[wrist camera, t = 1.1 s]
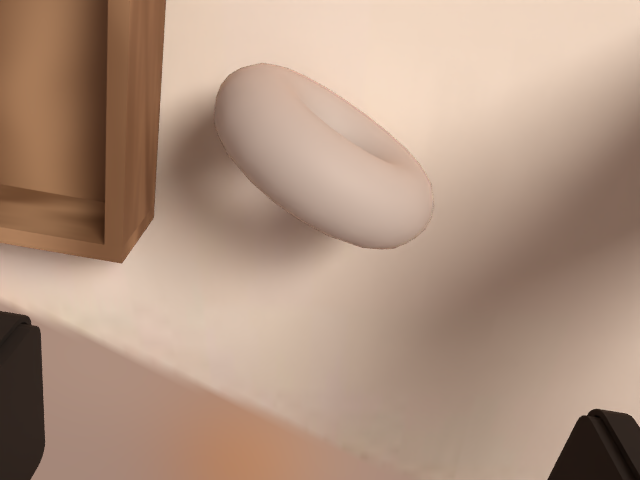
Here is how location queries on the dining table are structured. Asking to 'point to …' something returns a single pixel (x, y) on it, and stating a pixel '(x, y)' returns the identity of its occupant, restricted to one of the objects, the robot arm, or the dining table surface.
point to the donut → (322, 158)
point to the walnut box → (79, 123)
